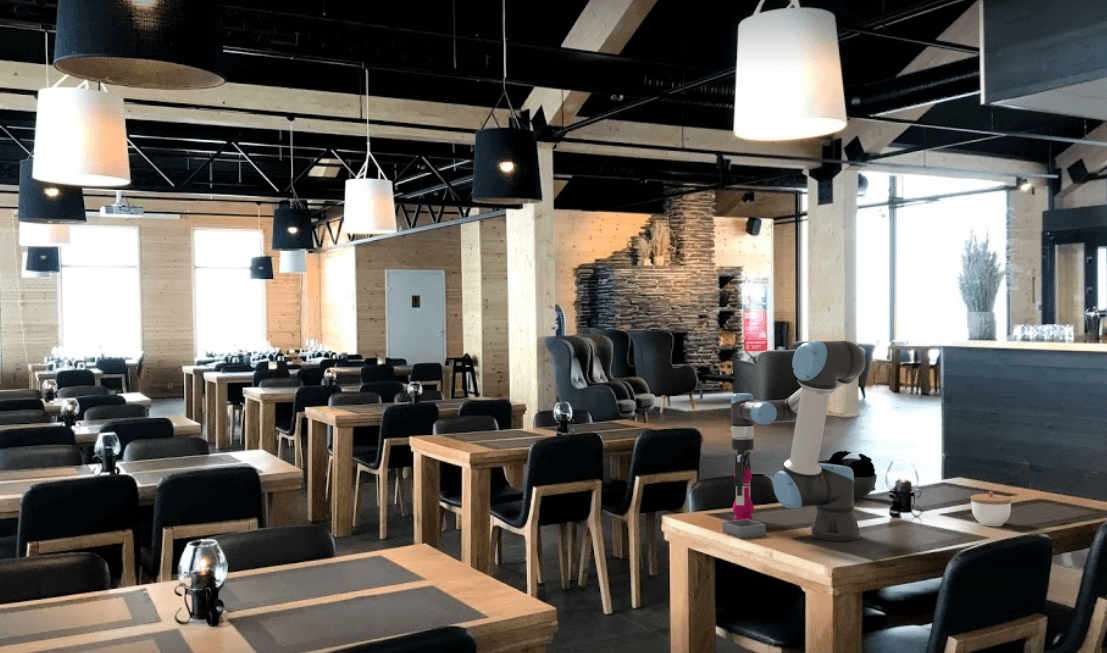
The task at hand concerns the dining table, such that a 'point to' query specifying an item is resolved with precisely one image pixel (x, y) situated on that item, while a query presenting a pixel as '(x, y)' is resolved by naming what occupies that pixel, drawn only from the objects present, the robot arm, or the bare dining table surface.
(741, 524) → the tray
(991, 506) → the lidded bowl
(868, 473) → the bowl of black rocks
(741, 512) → the pepper mill
